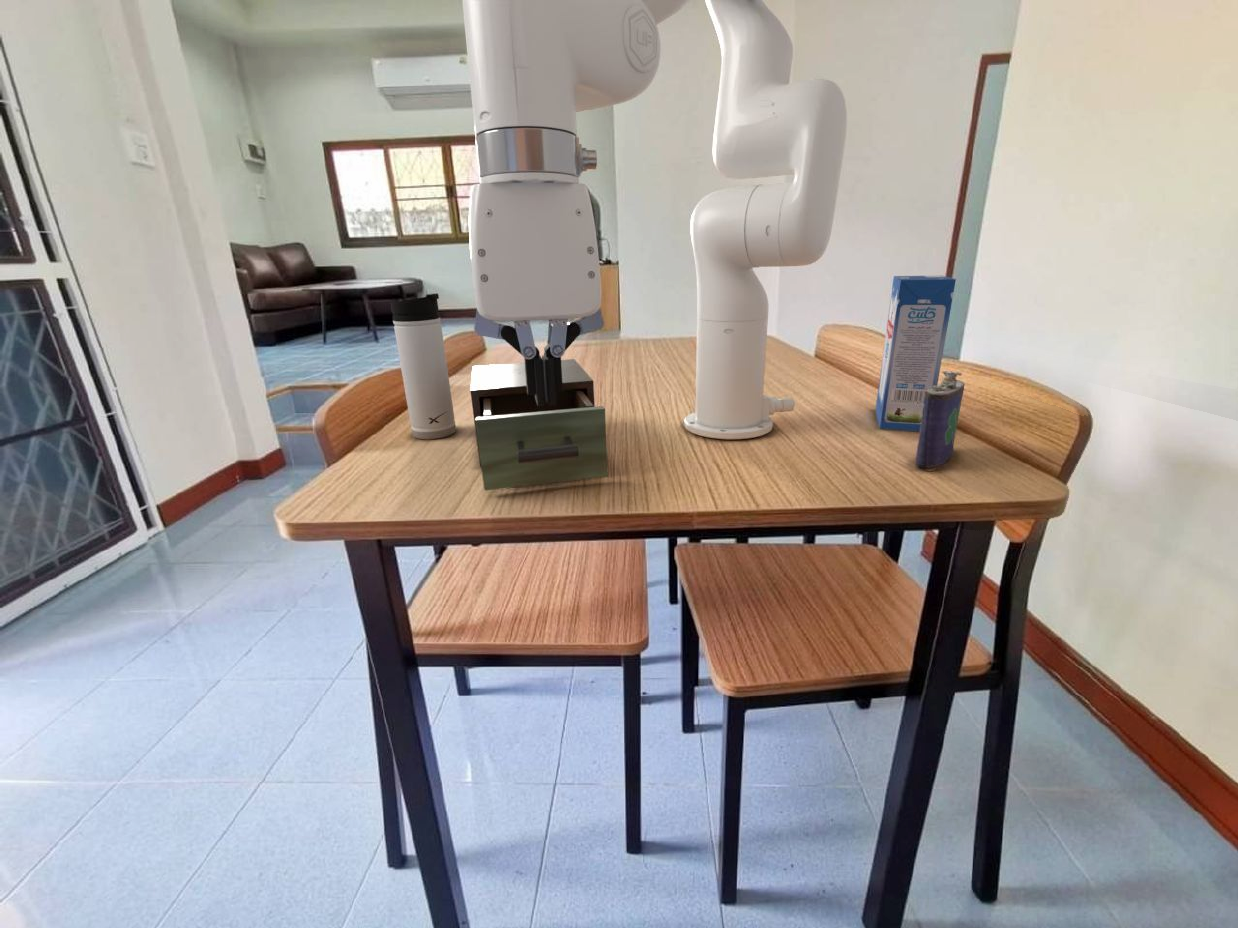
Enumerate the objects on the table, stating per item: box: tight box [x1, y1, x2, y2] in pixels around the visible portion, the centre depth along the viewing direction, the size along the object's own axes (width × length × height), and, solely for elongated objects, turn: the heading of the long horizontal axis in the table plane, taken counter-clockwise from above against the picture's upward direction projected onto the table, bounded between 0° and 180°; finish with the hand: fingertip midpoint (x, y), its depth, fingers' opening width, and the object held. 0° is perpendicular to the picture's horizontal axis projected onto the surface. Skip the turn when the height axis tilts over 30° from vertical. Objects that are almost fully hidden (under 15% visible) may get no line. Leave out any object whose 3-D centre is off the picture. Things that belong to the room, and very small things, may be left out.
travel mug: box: [390, 292, 457, 440], centre depth 80 cm, size 6×7×20 cm
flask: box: [913, 370, 965, 472], centre depth 65 cm, size 9×3×11 cm, turn 138°
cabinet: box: [469, 358, 596, 468], centre depth 76 cm, size 16×15×10 cm
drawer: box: [475, 389, 609, 491], centre depth 64 cm, size 20×14×8 cm
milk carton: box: [875, 274, 957, 432], centre depth 79 cm, size 10×6×20 cm, turn 160°
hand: (545, 401), depth 49 cm, fingers closed
